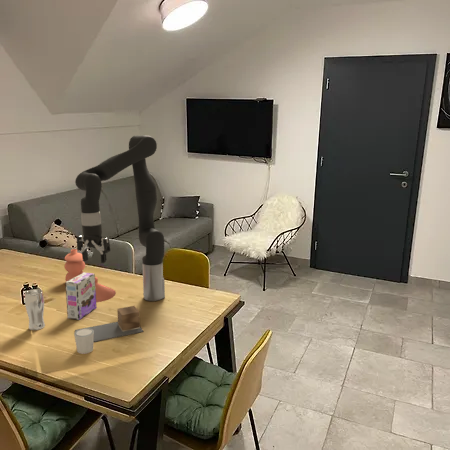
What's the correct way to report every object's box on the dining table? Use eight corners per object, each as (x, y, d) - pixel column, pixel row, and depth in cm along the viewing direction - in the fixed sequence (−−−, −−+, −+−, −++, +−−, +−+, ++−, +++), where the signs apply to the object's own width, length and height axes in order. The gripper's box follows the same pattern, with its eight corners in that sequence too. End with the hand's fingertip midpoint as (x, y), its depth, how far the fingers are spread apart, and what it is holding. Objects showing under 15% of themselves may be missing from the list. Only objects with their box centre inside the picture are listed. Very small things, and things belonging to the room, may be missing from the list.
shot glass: (77, 345, 166) (76, 328, 164) (96, 345, 166) (95, 327, 165) (73, 354, 159) (72, 336, 157) (92, 354, 159) (91, 336, 158)
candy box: (79, 320, 187) (76, 283, 183) (67, 318, 188) (64, 281, 185) (97, 307, 200) (95, 272, 196) (85, 306, 201) (83, 271, 198)
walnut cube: (134, 321, 185) (134, 305, 184) (139, 328, 179) (139, 311, 178) (118, 324, 182) (117, 308, 181) (122, 331, 176) (121, 315, 175)
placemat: (133, 319, 188) (133, 318, 188) (143, 331, 177) (143, 330, 177) (74, 330, 177) (74, 329, 177) (81, 344, 166) (81, 343, 166)
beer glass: (49, 324, 182) (47, 290, 179) (37, 332, 176) (34, 296, 173) (36, 322, 185) (33, 288, 181) (23, 329, 178) (20, 293, 175)
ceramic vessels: (127, 295, 215) (125, 258, 210) (87, 308, 200) (85, 267, 196) (89, 278, 238) (87, 244, 234) (51, 288, 223) (48, 252, 219)
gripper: (112, 222, 180) (114, 260, 183) (82, 219, 184) (85, 257, 188) (101, 226, 173) (104, 266, 177) (70, 223, 177) (74, 262, 181)
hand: (94, 261), depth 182 cm, fingers open, 8 cm apart
